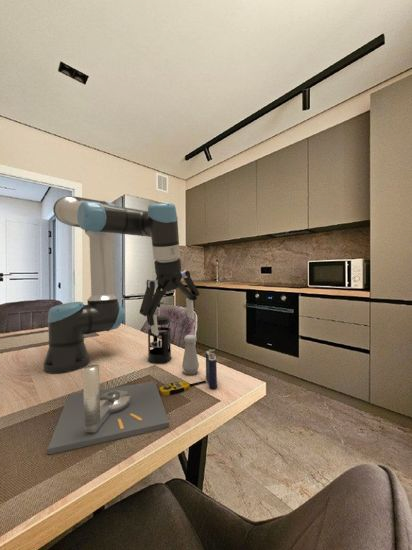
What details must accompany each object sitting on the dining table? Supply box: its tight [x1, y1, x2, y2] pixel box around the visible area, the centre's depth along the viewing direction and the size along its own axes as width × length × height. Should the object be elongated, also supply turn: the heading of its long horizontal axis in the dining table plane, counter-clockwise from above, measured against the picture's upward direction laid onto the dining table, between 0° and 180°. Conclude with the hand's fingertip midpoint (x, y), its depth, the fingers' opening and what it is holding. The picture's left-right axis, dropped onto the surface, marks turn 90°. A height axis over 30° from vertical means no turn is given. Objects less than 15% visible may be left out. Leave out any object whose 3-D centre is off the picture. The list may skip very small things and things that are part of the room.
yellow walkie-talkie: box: [158, 380, 207, 397], centre depth 75 cm, size 5×2×15 cm
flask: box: [205, 349, 218, 391], centre depth 78 cm, size 9×3×11 cm, turn 8°
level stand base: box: [47, 380, 170, 455], centre depth 63 cm, size 22×24×1 cm
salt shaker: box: [182, 334, 200, 376], centre depth 86 cm, size 6×6×13 cm
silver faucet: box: [82, 364, 130, 433], centre depth 60 cm, size 16×8×14 cm, turn 175°
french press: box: [147, 301, 173, 365], centre depth 98 cm, size 12×9×23 cm
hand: (174, 325), depth 77 cm, fingers open, 13 cm apart
